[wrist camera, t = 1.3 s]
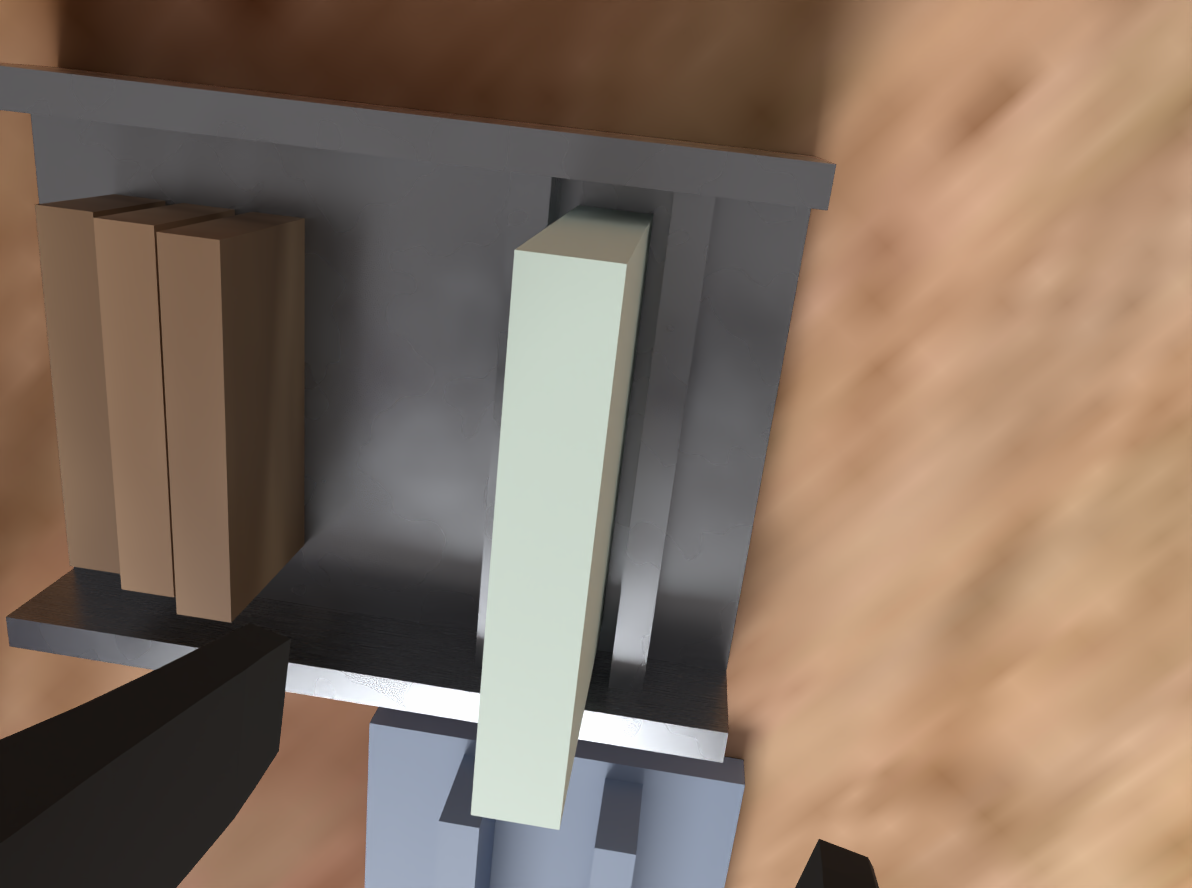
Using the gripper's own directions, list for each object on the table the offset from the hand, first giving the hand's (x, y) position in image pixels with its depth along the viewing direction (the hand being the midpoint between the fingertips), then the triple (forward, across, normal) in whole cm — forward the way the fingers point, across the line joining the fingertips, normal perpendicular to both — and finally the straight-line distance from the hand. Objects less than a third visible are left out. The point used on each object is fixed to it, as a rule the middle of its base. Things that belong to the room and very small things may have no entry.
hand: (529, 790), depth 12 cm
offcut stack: (+9, +11, +1) cm, 14 cm away
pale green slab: (+10, +2, 0) cm, 10 cm away
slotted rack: (+11, +6, 0) cm, 13 cm away
